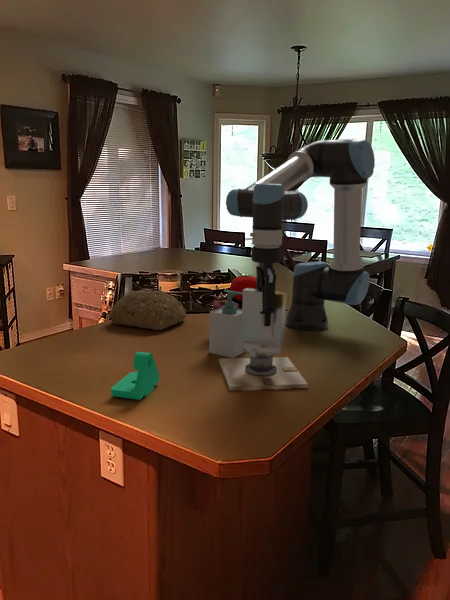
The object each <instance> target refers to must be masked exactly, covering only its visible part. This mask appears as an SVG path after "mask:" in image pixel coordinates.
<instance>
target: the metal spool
mask: <svg viewBox="0 0 450 600" xmlns="http://www.w3.org/2000/svg"><path fill="white" fill-rule="evenodd" d="M273 357H274V356H256V357H252V356H249V358H250V364H247V365H246V366H245V371H246V372H247V373H249V374H251V375H254V376H271V375H274V374H275V373H276V372H277V368H276V366H274V365H272V363H273Z"/></svg>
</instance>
